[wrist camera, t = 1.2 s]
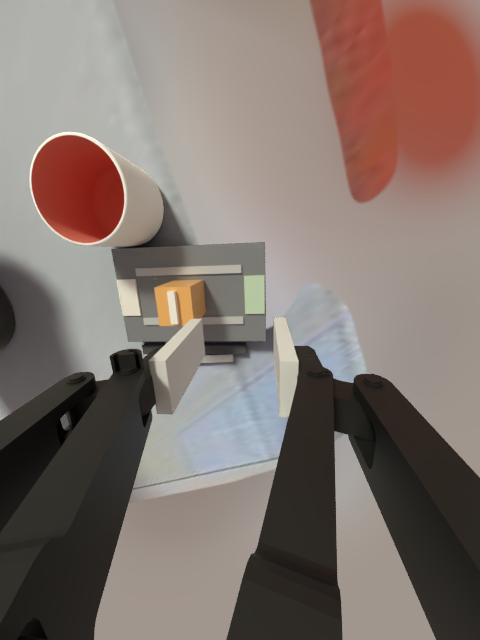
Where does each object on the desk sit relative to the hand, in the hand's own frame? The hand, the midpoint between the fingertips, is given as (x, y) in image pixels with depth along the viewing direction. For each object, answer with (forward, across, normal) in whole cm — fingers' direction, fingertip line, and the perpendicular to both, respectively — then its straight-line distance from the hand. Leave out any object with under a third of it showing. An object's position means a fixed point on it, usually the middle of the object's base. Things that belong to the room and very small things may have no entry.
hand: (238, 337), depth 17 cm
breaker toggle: (+16, -8, 0) cm, 17 cm away
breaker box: (+19, -8, 0) cm, 20 cm away
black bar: (+19, -9, -9) cm, 22 cm away
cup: (+19, -16, +12) cm, 27 cm away
